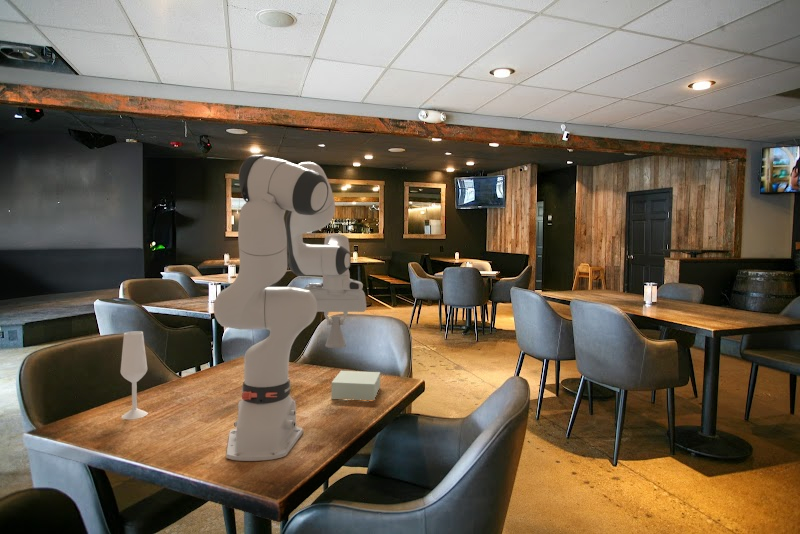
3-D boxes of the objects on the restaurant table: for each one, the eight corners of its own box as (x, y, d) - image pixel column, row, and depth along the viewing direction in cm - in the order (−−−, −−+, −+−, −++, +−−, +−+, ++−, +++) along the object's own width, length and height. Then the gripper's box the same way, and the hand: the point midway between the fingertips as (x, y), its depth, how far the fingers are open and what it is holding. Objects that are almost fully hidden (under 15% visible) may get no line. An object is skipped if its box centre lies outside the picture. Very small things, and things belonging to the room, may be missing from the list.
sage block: (374, 402, 150) (374, 384, 150) (331, 400, 151) (331, 382, 151) (380, 389, 164) (380, 372, 164) (340, 387, 165) (341, 370, 165)
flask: (349, 344, 159) (349, 315, 158) (342, 349, 152) (342, 319, 151) (329, 343, 160) (329, 314, 160) (321, 348, 153) (321, 317, 153)
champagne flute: (153, 413, 137) (152, 331, 135) (131, 421, 131) (130, 335, 129) (137, 409, 140) (136, 329, 138) (115, 416, 133) (114, 333, 132)
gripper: (303, 284, 151) (303, 326, 151) (367, 284, 153) (366, 326, 154) (305, 282, 157) (304, 323, 158) (366, 282, 159) (365, 323, 160)
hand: (335, 325), depth 156 cm, fingers closed on flask, 3 cm apart
